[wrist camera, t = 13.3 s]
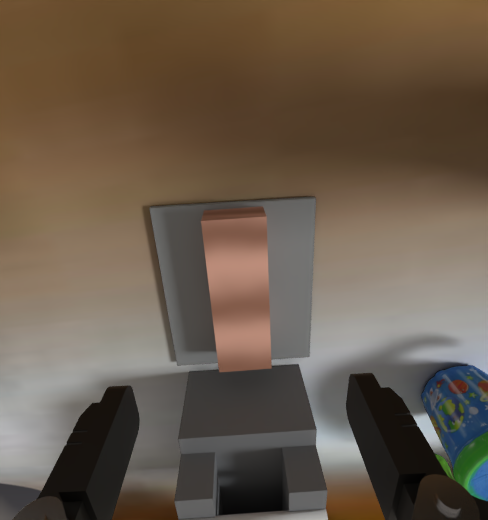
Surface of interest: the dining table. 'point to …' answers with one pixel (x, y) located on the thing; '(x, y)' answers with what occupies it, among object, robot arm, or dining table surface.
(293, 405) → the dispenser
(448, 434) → the snack cup
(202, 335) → the mat
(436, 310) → the dining table surface
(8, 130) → the dining table surface
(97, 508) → the robot arm
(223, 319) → the copper bar
